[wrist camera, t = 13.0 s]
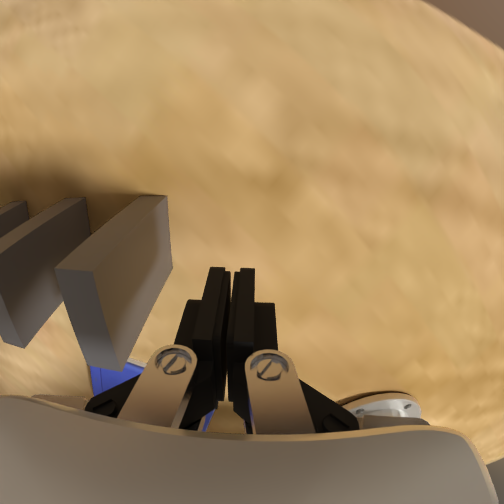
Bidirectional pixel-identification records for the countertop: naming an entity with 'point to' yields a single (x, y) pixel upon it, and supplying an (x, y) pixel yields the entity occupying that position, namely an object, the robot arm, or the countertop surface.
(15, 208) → the tile
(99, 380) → the hard drive
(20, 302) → the tile
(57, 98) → the countertop surface
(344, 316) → the countertop surface
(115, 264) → the tile
